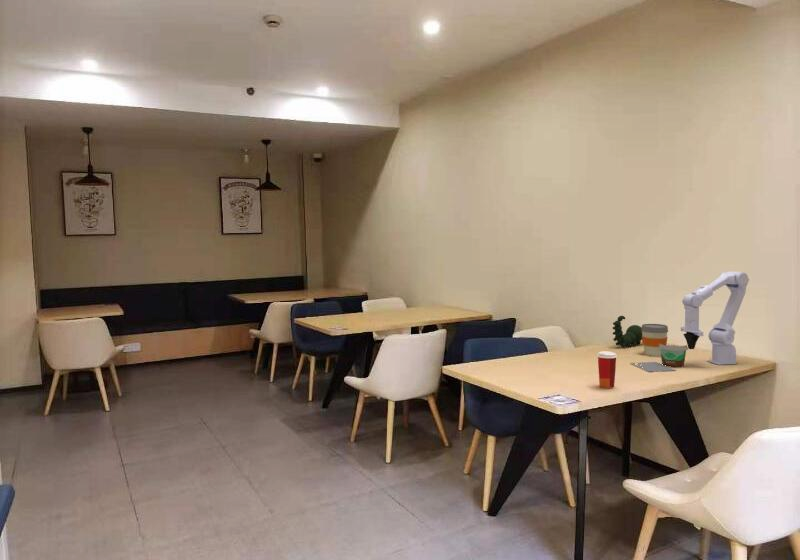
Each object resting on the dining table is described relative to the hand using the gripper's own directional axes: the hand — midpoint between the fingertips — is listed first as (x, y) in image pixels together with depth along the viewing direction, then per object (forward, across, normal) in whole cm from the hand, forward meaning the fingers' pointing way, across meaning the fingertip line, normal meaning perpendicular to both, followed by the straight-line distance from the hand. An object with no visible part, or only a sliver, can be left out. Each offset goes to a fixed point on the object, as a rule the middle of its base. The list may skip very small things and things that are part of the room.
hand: (691, 348), depth 260 cm
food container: (+8, 0, -9) cm, 12 cm away
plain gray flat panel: (+8, 0, -19) cm, 20 cm away
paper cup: (+8, +28, -54) cm, 61 cm away
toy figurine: (+8, -49, -5) cm, 50 cm away
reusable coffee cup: (+8, -26, -4) cm, 27 cm away
